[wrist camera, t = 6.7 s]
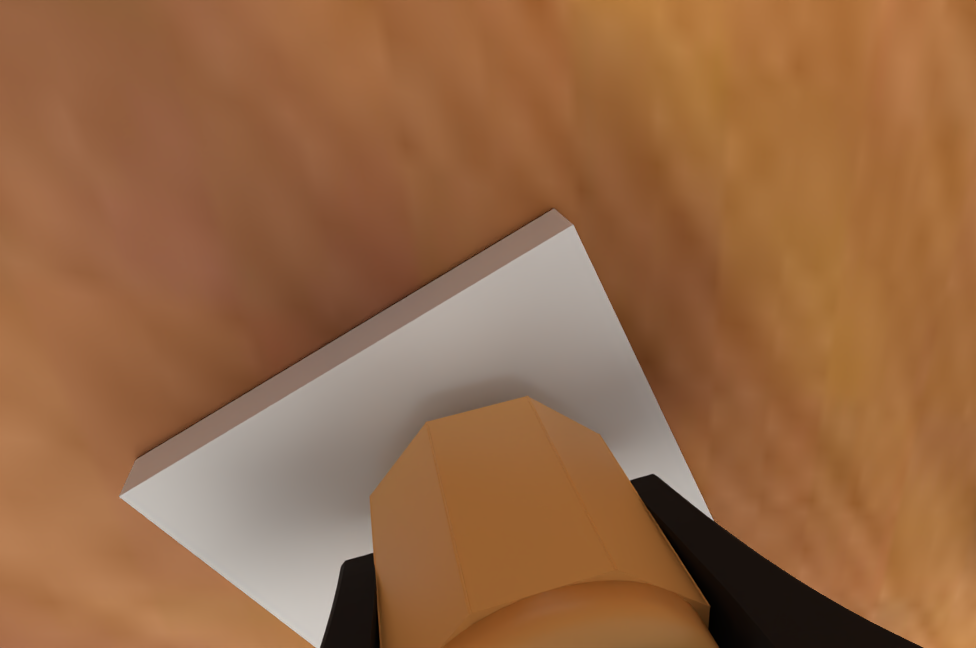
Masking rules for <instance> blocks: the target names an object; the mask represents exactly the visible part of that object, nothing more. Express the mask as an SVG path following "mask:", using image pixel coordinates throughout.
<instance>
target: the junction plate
mask: <svg viewBox="0 0 976 648" xmlns="http://www.w3.org/2000/svg"><path fill="white" fill-rule="evenodd" d="M525 396H529V397H530V398H532V399H534V400H536V401H538V402H540V403H542V404H543V405H545V406H547V407H549V408H551V409H553V410H555V411H557V412H559V413H560V414H562V415H564V416H566V417H568V418H570V419H572V420H574V421H576V422H577V423H579V424H581V425H583V426H585V427H587V428H589V429H591V430H592V431H594V432H596V433H598V434H600V435H601V437H602V438H603V440H604V441H605V443H606V444H607V446H608V448H609V449H610V451H611V452H612V454H613V455H614V457H615V459H616V460H617V462H618V463H619V465H620V466H621V468H622V469H623V471H624V473H625V474H626V476H627V477H628V479H629V480H632V479H636V478H639V477H643V476H647V475H650V474H655V475H656V476H658V477H659V478H660V479H662V480H663V481H664V482H665V483H666V484H668V485H669V486H670V487H671V488H673V489H674V490H675V491H676V492H678V493H679V494H680V495H681V496H682V497H684V498H685V499H686V500H687V501H689V502H690V503H691V504H692V505H694V506H695V507H696V508H698V509H699V510H700V511H701V512H703V513H704V514H705V515H706V516H708V517H709V518H710V519H712V520H713V518H712V516H711V514H710V512H709V510H708V508H707V506H706V504H705V501H704V499H703V497H702V495H701V493H700V491H699V489H698V487H697V485H696V482H695V480H694V478H693V476H692V474H691V472H690V470H689V468H688V466H687V463H686V461H685V459H684V457H683V455H682V453H681V451H680V449H679V447H678V444H677V442H676V440H675V438H674V436H673V434H672V432H671V430H670V428H669V425H668V423H667V421H666V419H665V417H664V415H663V413H662V411H661V409H660V407H659V404H658V402H657V400H656V398H655V396H654V394H653V392H652V390H651V388H650V385H649V383H648V381H647V379H646V377H645V375H644V373H643V371H642V369H641V366H640V364H639V362H638V360H637V358H636V356H635V354H634V352H633V350H632V347H631V345H630V343H629V341H628V339H627V337H626V335H625V333H624V331H623V328H622V326H621V324H620V322H619V320H618V318H617V316H616V314H615V312H614V310H613V307H612V305H611V303H610V301H609V299H608V297H607V295H606V293H605V291H604V288H603V286H602V284H601V282H600V280H599V278H598V276H597V274H596V272H595V269H594V267H593V265H592V263H591V261H590V259H589V257H588V255H587V253H586V250H585V248H584V246H583V244H582V242H581V240H580V238H579V236H578V234H577V231H576V229H575V227H574V225H573V224H572V223H571V222H570V221H568V220H567V219H566V218H565V217H564V216H563V215H561V214H560V213H559V212H558V211H557V210H555V209H552V210H550V211H549V212H547V213H545V214H544V215H542V216H541V217H539V218H537V219H536V220H534V221H532V222H531V223H529V224H527V225H526V226H524V227H522V228H521V229H519V230H517V231H516V232H514V233H512V234H511V235H509V236H507V237H506V238H504V239H502V240H501V241H499V242H497V243H496V244H494V245H492V246H491V247H489V248H487V249H486V250H484V251H482V252H481V253H479V254H477V255H476V256H474V257H472V258H471V259H469V260H467V261H466V262H464V263H462V264H461V265H459V266H457V267H456V268H454V269H452V270H451V271H449V272H447V273H446V274H444V275H442V276H441V277H439V278H437V279H436V280H434V281H432V282H431V283H429V284H427V285H426V286H424V287H422V288H421V289H419V290H417V291H416V292H414V293H412V294H411V295H409V296H407V297H406V298H404V299H402V300H401V301H399V302H397V303H396V304H394V305H392V306H391V307H389V308H387V309H386V310H384V311H382V312H381V313H379V314H377V315H376V316H374V317H372V318H371V319H369V320H367V321H366V322H364V323H362V324H361V325H359V326H357V327H356V328H354V329H352V330H351V331H349V332H347V333H346V334H344V335H342V336H341V337H339V338H337V339H336V340H334V341H332V342H331V343H329V344H327V345H326V346H324V347H322V348H321V349H319V350H317V351H316V352H314V353H312V354H311V355H309V356H307V357H306V358H304V359H302V360H301V361H299V362H297V363H296V364H294V365H292V366H291V367H289V368H288V369H286V370H284V371H283V372H281V373H279V374H278V375H276V376H274V377H273V378H271V379H269V380H268V381H266V382H264V383H263V384H261V385H259V386H258V387H256V388H254V389H253V390H251V391H249V392H248V393H246V394H244V395H243V396H241V397H239V398H238V399H236V400H234V401H233V402H231V403H229V404H228V405H226V406H224V407H223V408H221V409H219V410H218V411H216V412H214V413H213V414H211V415H209V416H208V417H206V418H204V419H203V420H201V421H199V422H198V423H196V424H194V425H193V426H191V427H189V428H188V429H186V430H184V431H183V432H181V433H179V434H178V435H176V436H174V437H173V438H171V439H169V440H168V441H166V442H164V443H163V444H161V445H159V446H158V447H156V448H154V449H153V450H151V451H149V452H148V453H146V454H144V455H143V456H141V457H139V458H138V459H136V460H135V462H134V465H133V467H132V469H131V471H130V473H129V476H128V478H127V480H126V482H125V484H124V486H123V489H122V491H121V493H120V495H119V497H120V498H121V499H123V500H124V501H125V502H127V503H128V504H129V505H131V506H132V507H133V508H134V509H136V510H137V511H138V512H140V513H141V514H142V515H144V516H145V517H146V518H148V519H149V520H150V521H151V522H153V523H154V524H155V525H157V526H158V527H159V528H161V529H162V530H163V531H164V532H166V533H167V534H168V535H170V536H171V537H172V538H174V539H175V540H176V541H178V542H179V543H180V544H181V545H183V546H184V547H185V548H187V549H188V550H189V551H191V552H192V553H193V554H195V555H196V556H197V557H198V558H200V559H201V560H202V561H204V562H205V563H206V564H208V565H209V566H210V567H211V568H213V569H214V570H215V571H217V572H218V573H219V574H221V575H222V576H223V577H225V578H226V579H227V580H228V581H230V582H231V583H232V584H234V585H235V586H236V587H238V588H239V589H240V590H241V591H243V592H244V593H245V594H247V595H248V596H249V597H251V598H252V599H253V600H255V601H256V602H257V603H258V604H260V605H261V606H262V607H264V608H265V609H266V610H268V611H269V612H270V613H271V614H273V615H274V616H275V617H277V618H278V619H279V620H281V621H282V622H283V623H285V624H286V625H287V626H288V627H290V628H291V629H292V630H294V631H295V632H296V633H298V634H299V635H300V636H301V637H303V638H304V639H305V640H307V641H308V642H309V643H311V644H312V645H313V646H315V647H316V648H320V646H321V642H322V639H323V636H324V633H325V630H326V626H327V622H328V619H329V615H330V612H331V608H332V604H333V600H334V596H335V592H336V588H337V583H338V579H339V573H340V568H341V565H342V564H343V563H344V561H346V560H349V559H353V558H356V557H360V556H363V555H367V554H370V553H373V541H372V527H371V513H370V498H369V497H370V495H371V494H372V493H373V491H374V490H375V489H376V487H377V486H378V485H379V483H380V482H381V481H382V479H383V478H384V477H385V476H386V474H387V473H388V472H389V470H390V469H391V468H392V466H393V465H394V464H395V462H396V461H397V460H398V458H399V457H400V456H401V454H402V453H403V452H404V451H405V449H406V448H407V447H408V445H409V444H410V443H411V441H412V440H413V439H414V437H415V436H416V435H417V433H418V432H419V431H420V430H421V428H422V427H423V426H424V424H425V422H427V421H431V420H435V419H439V418H443V417H447V416H451V415H455V414H459V413H462V412H466V411H470V410H474V409H478V408H482V407H486V406H490V405H494V404H498V403H502V402H506V401H509V400H513V399H517V398H521V397H525ZM713 521H714V520H713Z"/></svg>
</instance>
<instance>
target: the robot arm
mask: <svg viewBox="0 0 976 648" xmlns="http://www.w3.org/2000/svg"><path fill="white" fill-rule="evenodd" d="M630 482H631V483H632V485H633V487H634V488H635V490H636V491H637V493H638V495H639V496H640V498H641V499H642V501H643V502H644V504H645V506H646V507H647V509H648V510H649V512H650V513H651V515H652V516H653V518H654V519H655V521H656V522H657V524H658V525H659V527H660V529H661V530H662V532H663V533H664V535H665V536H666V538H667V539H668V541H669V543H670V544H671V546H672V547H673V549H674V550H675V552H676V553H677V555H678V557H679V558H680V560H681V561H682V563H683V564H684V566H685V568H686V569H687V571H688V572H689V574H690V575H691V577H692V578H693V580H694V582H695V583H696V585H697V586H698V588H699V589H700V591H701V592H702V594H703V596H704V597H705V599H706V600H707V602H708V603H709V605H710V606H711V607H710V612H709V627H708V630H709V632H710V633H711V635H712V637H713V638H714V640H715V642H716V643H717V645H718V646H719V648H923V647H921V646H919V645H917V644H915V643H912V642H910V641H908V640H906V639H904V638H902V637H900V636H898V635H896V634H894V633H892V632H890V631H888V630H886V629H884V628H882V627H880V626H878V625H876V624H874V623H872V622H870V621H868V620H867V619H865V618H863V617H861V616H859V615H857V614H856V613H854V612H852V611H850V610H848V609H846V608H844V607H843V606H841V605H839V604H838V603H836V602H834V601H832V600H831V599H829V598H827V597H826V596H824V595H822V594H820V593H819V592H817V591H815V590H814V589H812V588H810V587H809V586H807V585H806V584H804V583H802V582H801V581H799V580H798V579H796V578H794V577H793V576H791V575H790V574H788V573H787V572H785V571H784V570H782V569H781V568H779V567H778V566H776V565H775V564H773V563H772V562H770V561H769V560H767V559H766V558H764V557H763V556H761V555H760V554H758V553H757V552H755V551H754V550H753V549H751V548H750V547H748V546H747V545H746V544H744V543H743V542H741V541H740V540H739V539H737V538H736V537H735V536H733V535H732V534H730V533H729V532H728V531H726V530H725V529H724V528H722V527H721V526H720V525H718V524H717V523H716V522H714V521H713V520H712V519H710V518H709V517H708V516H706V515H705V514H704V513H703V512H701V511H700V510H699V509H698V508H696V507H695V506H694V505H692V504H691V503H690V502H689V501H687V500H686V499H685V498H684V497H682V496H681V495H680V494H679V493H678V492H676V491H675V490H674V489H673V488H671V487H670V486H669V485H668V484H666V483H665V482H664V481H663V480H662V479H660V478H659V477H658V476H656V475H655V474H650V475H647V476H643V477H639V478H636V479H632V480H630ZM320 648H380V640H379V626H378V612H377V587H376V573H375V565H374V555H373V553H370V554H367V555H363V556H360V557H356V558H353V559H349V560H346V561H344V563H343V564H342V565H341V568H340V573H339V579H338V583H337V588H336V592H335V596H334V600H333V604H332V608H331V612H330V615H329V619H328V622H327V626H326V630H325V633H324V636H323V639H322V642H321V646H320Z"/></svg>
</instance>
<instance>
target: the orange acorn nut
mask: <svg viewBox="0 0 976 648" xmlns="http://www.w3.org/2000/svg"><path fill="white" fill-rule="evenodd" d="M369 498H370V513H371V527H372V541H373V555H374V565H375V573H376V587H377V612H378V626H379V640H380V648H719V646H718V645H717V643H716V642H715V640H714V638H713V637H712V635H711V633H710V632H709V630H708V627H709V612H710V607H711V606H710V605H709V603H708V602H707V600H706V599H705V597H704V596H703V594H702V592H701V591H700V589H699V588H698V586H697V585H696V583H695V582H694V580H693V578H692V577H691V575H690V574H689V572H688V571H687V569H686V568H685V566H684V564H683V563H682V561H681V560H680V558H679V557H678V555H677V553H676V552H675V550H674V549H673V547H672V546H671V544H670V543H669V541H668V539H667V538H666V536H665V535H664V533H663V532H662V530H661V529H660V527H659V525H658V524H657V522H656V521H655V519H654V518H653V516H652V515H651V513H650V512H649V510H648V509H647V507H646V506H645V504H644V502H643V501H642V499H641V498H640V496H639V495H638V493H637V491H636V490H635V488H634V487H633V485H632V483H631V482H630V480H629V479H628V477H627V476H626V474H625V473H624V471H623V469H622V468H621V466H620V465H619V463H618V462H617V460H616V459H615V457H614V455H613V454H612V452H611V451H610V449H609V448H608V446H607V444H606V443H605V441H604V440H603V438H602V437H601V435H600V434H598V433H596V432H594V431H592V430H591V429H589V428H587V427H585V426H583V425H581V424H579V423H577V422H576V421H574V420H572V419H570V418H568V417H566V416H564V415H562V414H560V413H559V412H557V411H555V410H553V409H551V408H549V407H547V406H545V405H543V404H542V403H540V402H538V401H536V400H534V399H532V398H530V397H529V396H525V397H521V398H517V399H513V400H509V401H506V402H502V403H498V404H494V405H490V406H486V407H482V408H478V409H474V410H470V411H466V412H462V413H459V414H455V415H451V416H447V417H443V418H439V419H435V420H431V421H427V422H425V424H424V426H423V427H422V428H421V430H420V431H419V432H418V433H417V435H416V436H415V437H414V439H413V440H412V441H411V443H410V444H409V445H408V447H407V448H406V449H405V451H404V452H403V453H402V454H401V456H400V457H399V458H398V460H397V461H396V462H395V464H394V465H393V466H392V468H391V469H390V470H389V472H388V473H387V474H386V476H385V477H384V478H383V479H382V481H381V482H380V483H379V485H378V486H377V487H376V489H375V490H374V491H373V493H372V494H371V495H370V497H369Z"/></svg>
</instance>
